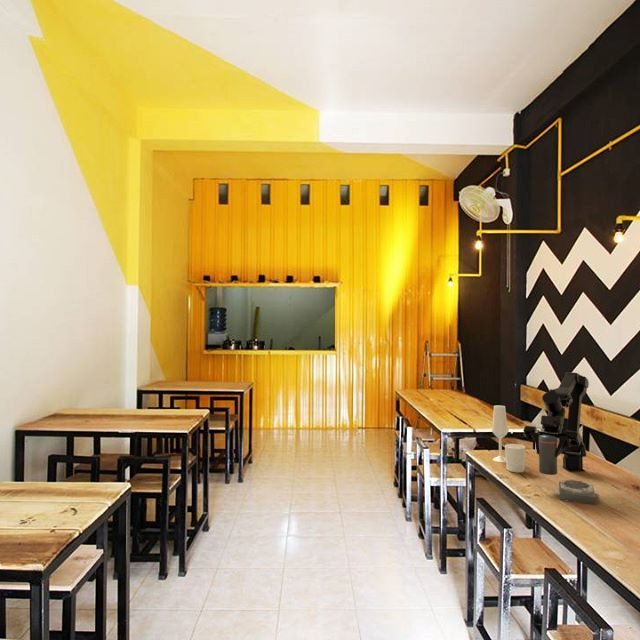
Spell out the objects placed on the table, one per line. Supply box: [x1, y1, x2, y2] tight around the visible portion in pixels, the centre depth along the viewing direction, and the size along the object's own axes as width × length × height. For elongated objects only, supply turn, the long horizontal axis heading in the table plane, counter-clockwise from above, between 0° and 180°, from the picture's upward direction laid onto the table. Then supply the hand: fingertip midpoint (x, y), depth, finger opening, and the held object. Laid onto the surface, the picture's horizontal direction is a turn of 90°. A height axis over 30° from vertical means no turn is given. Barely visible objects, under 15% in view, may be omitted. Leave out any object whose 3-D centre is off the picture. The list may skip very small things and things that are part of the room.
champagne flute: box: [491, 404, 509, 463], centre depth 221 cm, size 7×7×24 cm
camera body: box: [558, 479, 597, 505], centre depth 175 cm, size 13×11×4 cm
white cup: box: [504, 443, 526, 473], centre depth 206 cm, size 8×8×10 cm
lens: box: [538, 435, 558, 476], centre depth 181 cm, size 6×6×13 cm
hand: (546, 455), depth 179 cm, fingers closed on lens, 6 cm apart
